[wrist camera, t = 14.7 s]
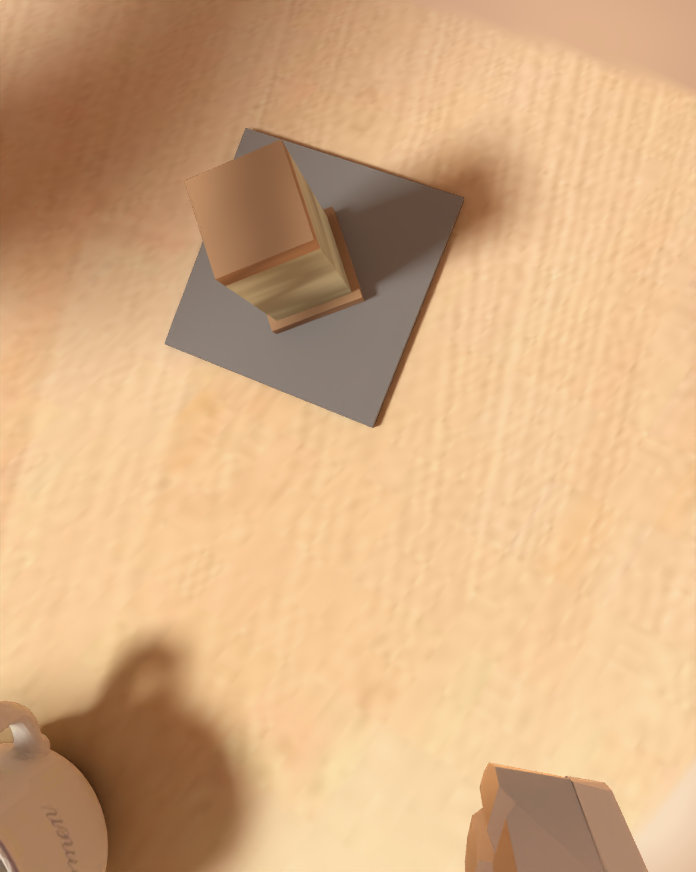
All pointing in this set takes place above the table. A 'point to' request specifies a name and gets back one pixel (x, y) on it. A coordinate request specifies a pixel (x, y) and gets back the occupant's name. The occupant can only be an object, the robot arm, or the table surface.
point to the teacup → (45, 804)
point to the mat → (343, 330)
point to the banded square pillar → (273, 238)
